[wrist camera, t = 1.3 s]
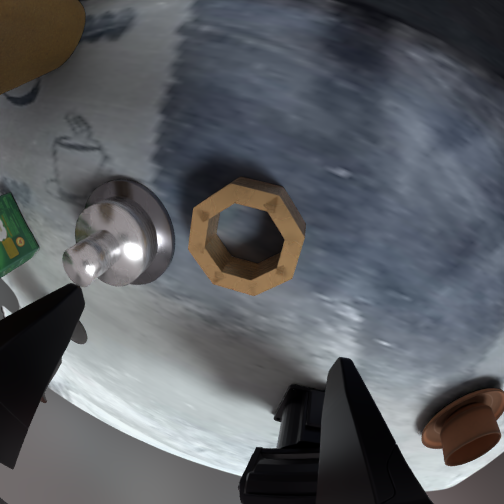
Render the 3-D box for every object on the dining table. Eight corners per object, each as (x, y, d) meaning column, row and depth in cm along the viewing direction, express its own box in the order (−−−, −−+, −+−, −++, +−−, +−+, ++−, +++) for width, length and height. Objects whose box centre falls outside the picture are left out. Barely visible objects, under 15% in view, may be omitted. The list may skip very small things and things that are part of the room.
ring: (287, 285, 22) (283, 304, 20) (197, 259, 22) (185, 275, 20) (314, 195, 19) (314, 205, 16) (211, 169, 19) (198, 176, 17)
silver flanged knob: (171, 294, 24) (133, 342, 19) (89, 264, 25) (45, 299, 19) (181, 191, 20) (131, 220, 15) (87, 171, 21) (30, 191, 15)
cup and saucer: (508, 403, 23) (520, 436, 18) (435, 445, 28) (441, 480, 23) (494, 363, 21) (513, 404, 16) (405, 418, 26) (411, 462, 21)
